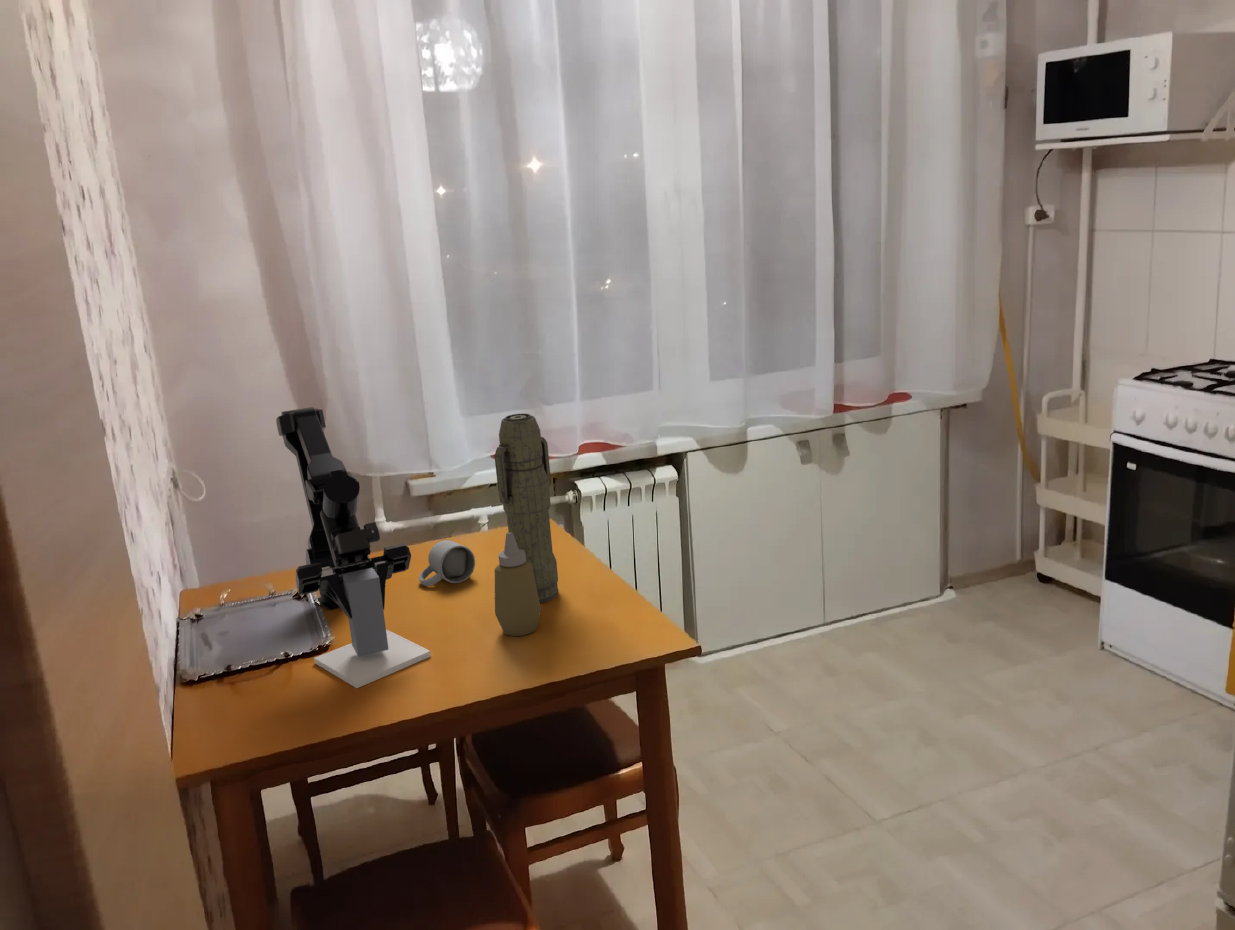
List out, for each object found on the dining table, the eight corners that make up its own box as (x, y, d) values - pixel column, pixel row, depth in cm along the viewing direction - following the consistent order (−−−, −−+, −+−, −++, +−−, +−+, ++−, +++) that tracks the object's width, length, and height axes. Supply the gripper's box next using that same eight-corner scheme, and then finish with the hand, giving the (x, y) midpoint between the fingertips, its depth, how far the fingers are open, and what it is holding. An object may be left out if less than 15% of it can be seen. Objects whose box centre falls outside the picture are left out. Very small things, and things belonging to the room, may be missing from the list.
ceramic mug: (460, 566, 205) (455, 532, 203) (478, 577, 199) (473, 541, 197) (413, 581, 200) (407, 546, 198) (430, 592, 193) (424, 556, 191)
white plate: (314, 663, 166) (314, 657, 166) (387, 634, 175) (386, 629, 175) (356, 688, 156) (355, 682, 156) (430, 656, 165) (430, 650, 165)
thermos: (573, 587, 190) (557, 410, 181) (534, 610, 181) (515, 425, 172) (538, 579, 195) (520, 407, 186) (498, 601, 186) (478, 421, 177)
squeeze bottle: (487, 632, 173) (476, 536, 168) (521, 616, 179) (511, 522, 174) (517, 644, 168) (507, 544, 163) (552, 627, 173) (542, 530, 168)
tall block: (352, 645, 166) (342, 574, 163) (381, 638, 168) (372, 567, 165) (358, 657, 162) (348, 583, 158) (388, 649, 164) (379, 577, 161)
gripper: (287, 521, 158) (310, 607, 152) (401, 498, 166) (427, 579, 160) (287, 552, 167) (309, 635, 161) (395, 529, 175) (420, 607, 169)
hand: (367, 613), depth 162 cm, fingers closed on tall block, 5 cm apart
